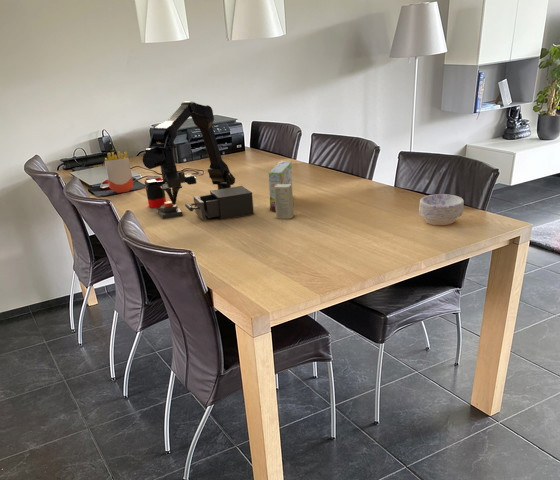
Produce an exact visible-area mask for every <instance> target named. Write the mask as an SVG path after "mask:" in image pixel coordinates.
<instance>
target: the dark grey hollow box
mask: <svg viewBox="0 0 560 480" xmlns="http://www.w3.org/2000/svg"><path fill="white" fill-rule="evenodd" d="M209 193H210V194H212V195H214V196H215V197H216V198H217V199H219V208H220V216H217V217H218V218H219V220H221V221H223V220H227V219H235V218H240V217H246V216H253V215H255V213H254V200H253V192H252V191H251V190H249V189H248V188H246V187H245V186H244V185H240V186H231V188H224V189H218V188H217V189H211V190H209Z"/></svg>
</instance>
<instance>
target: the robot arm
mask: <svg viewBox="0 0 560 480" xmlns="http://www.w3.org/2000/svg"><path fill="white" fill-rule="evenodd" d="M189 118H191V119H192V121H193V123H194V125H195V126H196V127H197V128H198V130H199V131H200V134H201V136H202V140H203V143H204V146H205V151H206V153H207V156H208V159H209V163H210V165H209V168H207V173H208V176H209V179H210V180H211V183H212V185H217V190H218V189H224V188H231V187H232V186H233V185H234V184H235V183H236V177H235V176H234V175H233V174H232V172H231V171H230V168H229V165H228V164H227V163H226V162H225V161H224V160H223V158H222V156H221V151H220V148H219V145H218V142H217V138H216V135H215V132H214V127H213V125H214V121H215V117H214V111H213V108H212V107H211V106H210V105H208V104H207V105H206V104H205V105H203V104H199V103H196V102H195V101H183V102H181V103H180V106H179V107H178V108H176V111H174V112H173V113H172V115H170V117H169V118H168V119H167V120H166V121H164V122H162V123H159V124H158V125H156V126H155V127H153V129H152V134H151V137H150V140H149V145H148V148H145V149H144V151H145V152H144V153H143V155H142V159H141V160H142V163H143V165H144V167H145V168H146V169H148V170H153V169H155V168H159V167H160V172H161V179H162V180H163V181H156V180H155V179H152V180H146V179H145V180H146V181H145V180H144V186H146V187H145V190H146V189H147V190H148V191H152V190H157V189H158V187H159V186H161V188H162V190H163V191H165V192H166V194H167V196H168V197H169V198H168V199H169V201H171V202H172V204H173V205H176V204H177V199H178V193H179V191H180V189H182V188H183V186H182V184H184V183H186V184H187V185H189V186H190V185H191V186H192V185H196V184H197V178H196V176H195V175H193V174H192V173H186V174H185V171H178V169H177V164H176V158H175V151H174V149H177V148H178V146H177V145H176V144H175V143H174V141H175V140H176V139H177V137H178V131H179V129H180V128H181V127H182V126H183V125H184V123H185V122H187V120H188V119H189Z"/></svg>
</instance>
